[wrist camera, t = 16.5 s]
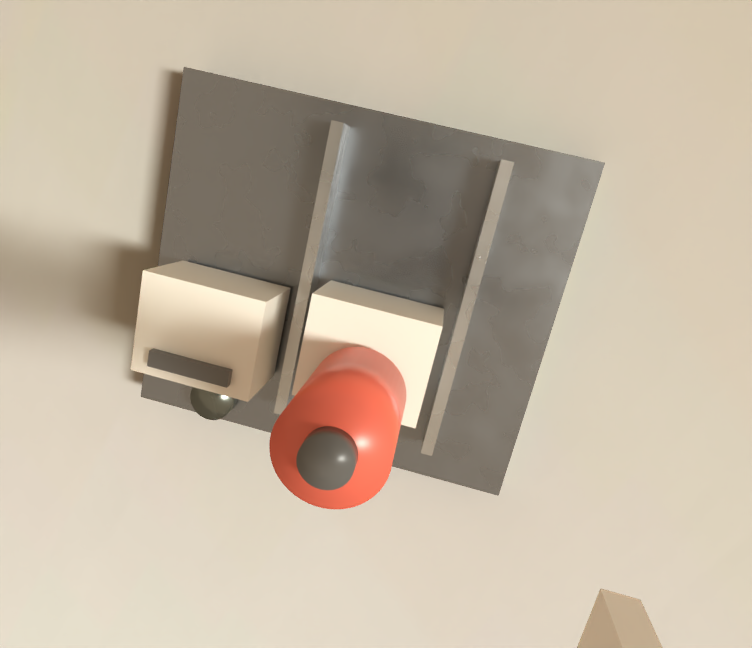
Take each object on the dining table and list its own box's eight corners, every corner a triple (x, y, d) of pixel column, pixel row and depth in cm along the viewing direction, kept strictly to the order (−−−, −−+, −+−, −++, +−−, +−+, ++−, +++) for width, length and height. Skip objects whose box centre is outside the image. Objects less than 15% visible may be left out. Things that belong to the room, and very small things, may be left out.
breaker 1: (183, 260, 30) (138, 271, 26) (290, 287, 29) (263, 303, 25) (170, 348, 31) (125, 372, 27) (273, 375, 31) (244, 405, 26)
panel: (201, 75, 30) (168, 59, 26) (594, 164, 28) (614, 160, 25) (158, 385, 34) (125, 406, 31) (495, 477, 33) (500, 511, 29)
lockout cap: (323, 334, 25) (277, 385, 18) (418, 363, 25) (405, 425, 18) (301, 421, 26) (250, 498, 20) (391, 450, 26) (370, 538, 19)
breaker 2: (330, 280, 29) (310, 294, 25) (444, 308, 28) (442, 328, 24) (312, 369, 30) (289, 398, 26) (420, 398, 30) (414, 432, 25)
